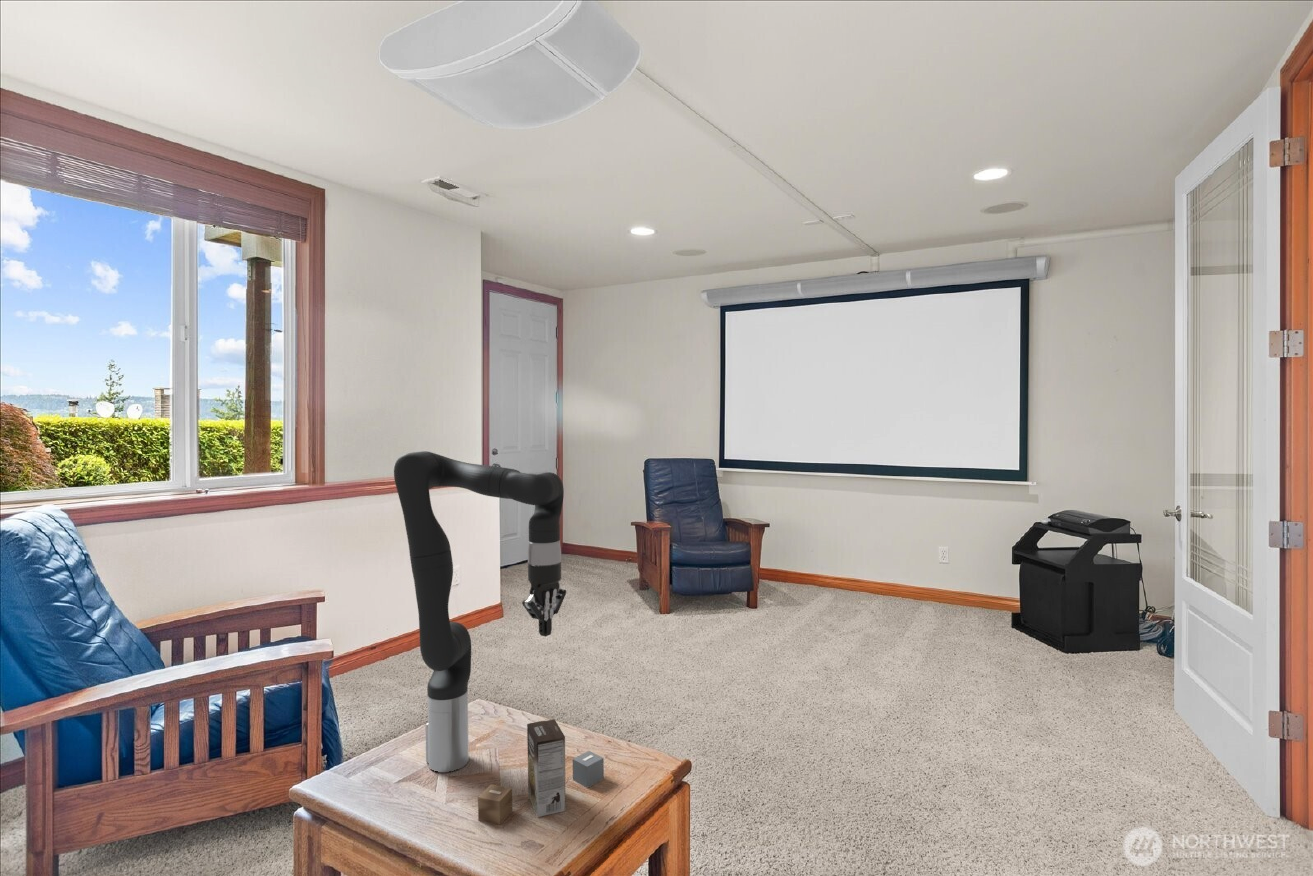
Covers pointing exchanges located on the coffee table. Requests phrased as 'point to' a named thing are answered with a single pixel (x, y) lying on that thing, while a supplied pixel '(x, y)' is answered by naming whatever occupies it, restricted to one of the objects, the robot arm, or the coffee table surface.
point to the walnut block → (495, 804)
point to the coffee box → (546, 767)
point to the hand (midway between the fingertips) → (545, 635)
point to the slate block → (588, 769)
